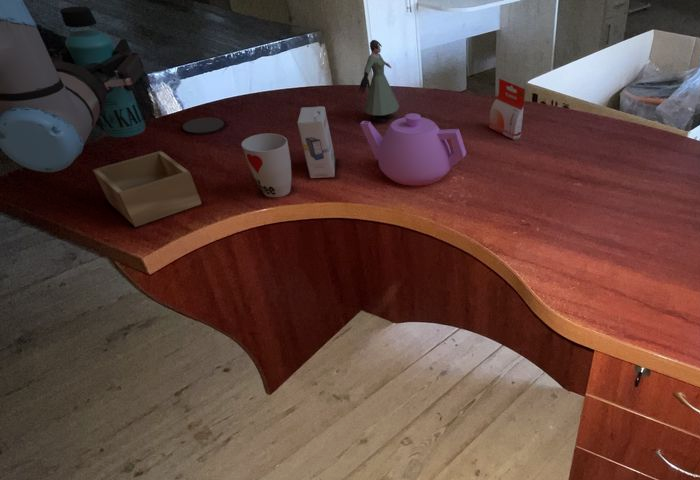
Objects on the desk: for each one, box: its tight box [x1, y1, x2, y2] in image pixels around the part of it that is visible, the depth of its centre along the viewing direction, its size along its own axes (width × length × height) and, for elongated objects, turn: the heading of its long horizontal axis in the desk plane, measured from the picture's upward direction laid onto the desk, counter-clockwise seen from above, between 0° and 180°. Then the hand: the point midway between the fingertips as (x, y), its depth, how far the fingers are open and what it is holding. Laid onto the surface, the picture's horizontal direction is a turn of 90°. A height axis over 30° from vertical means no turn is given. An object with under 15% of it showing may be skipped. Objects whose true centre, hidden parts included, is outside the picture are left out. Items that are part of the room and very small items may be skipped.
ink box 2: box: [488, 78, 526, 140], centre depth 129 cm, size 3×9×12 cm, turn 42°
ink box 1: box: [296, 105, 336, 179], centre depth 111 cm, size 9×5×12 cm, turn 10°
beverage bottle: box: [59, 5, 146, 138], centre depth 87 cm, size 6×7×20 cm
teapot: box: [359, 112, 467, 187], centre depth 112 cm, size 22×16×12 cm
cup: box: [241, 133, 293, 198], centre depth 104 cm, size 8×8×10 cm
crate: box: [92, 150, 202, 228], centre depth 100 cm, size 12×12×6 cm
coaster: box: [182, 116, 225, 135], centre depth 127 cm, size 9×9×1 cm
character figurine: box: [358, 39, 400, 123], centre depth 129 cm, size 16×8×18 cm, turn 163°
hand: (102, 48), depth 89 cm, fingers closed on beverage bottle, 6 cm apart
